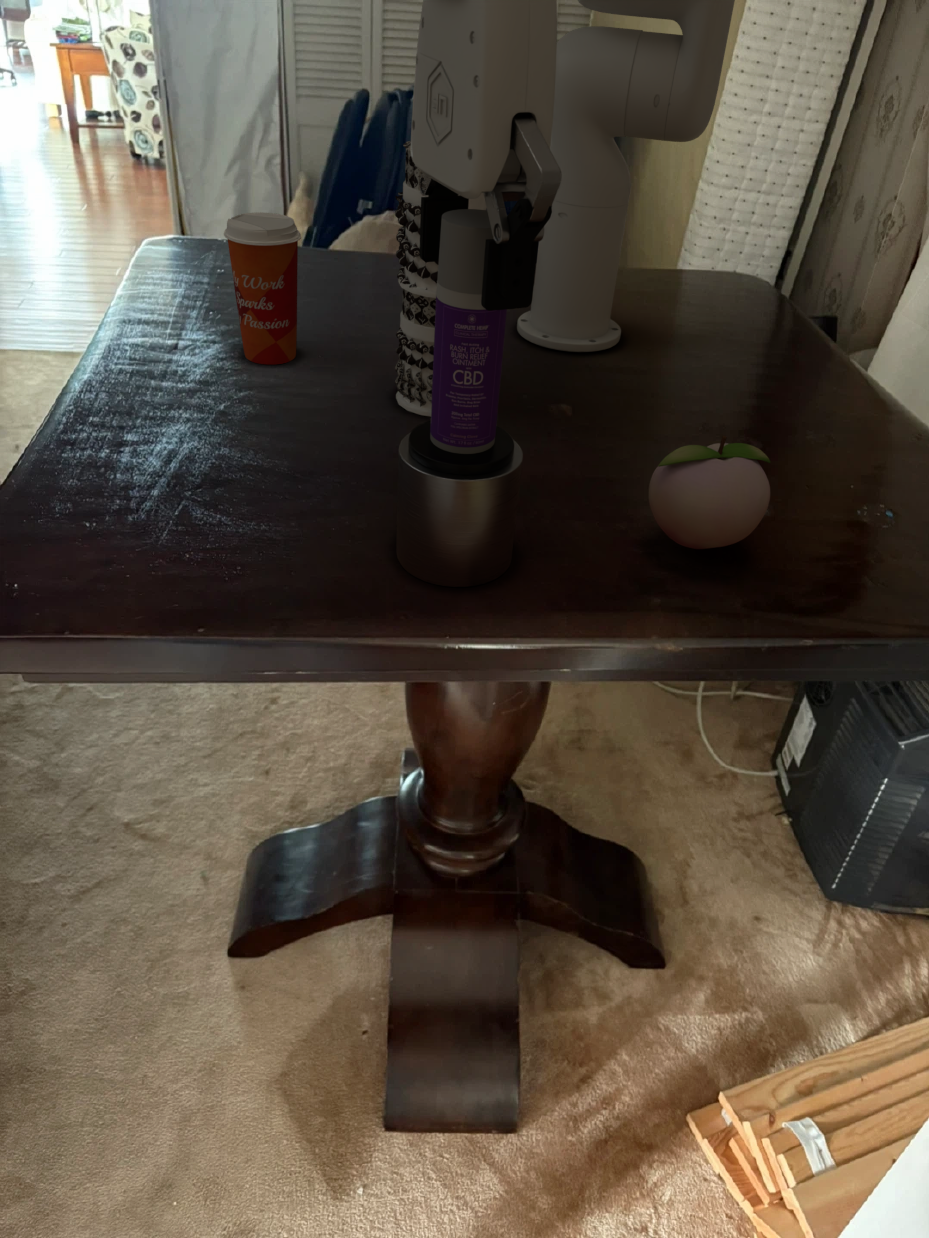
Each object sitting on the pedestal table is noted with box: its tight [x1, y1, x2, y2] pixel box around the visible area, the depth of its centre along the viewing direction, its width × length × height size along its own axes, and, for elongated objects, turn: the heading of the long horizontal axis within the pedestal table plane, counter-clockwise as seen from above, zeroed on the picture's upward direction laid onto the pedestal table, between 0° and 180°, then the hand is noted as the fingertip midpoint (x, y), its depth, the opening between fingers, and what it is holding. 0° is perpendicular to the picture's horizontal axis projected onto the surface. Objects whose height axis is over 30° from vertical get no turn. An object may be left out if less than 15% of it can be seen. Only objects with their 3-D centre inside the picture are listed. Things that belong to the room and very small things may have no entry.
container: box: [430, 209, 508, 454], centre depth 61 cm, size 5×5×15 cm
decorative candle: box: [394, 140, 487, 417], centre depth 87 cm, size 9×9×25 cm
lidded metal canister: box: [395, 419, 524, 588], centre depth 69 cm, size 9×9×10 cm
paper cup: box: [223, 211, 302, 366], centre depth 97 cm, size 8×8×14 cm
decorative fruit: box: [648, 434, 771, 550], centre depth 71 cm, size 9×8×10 cm
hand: (472, 282), depth 59 cm, fingers open, 9 cm apart
